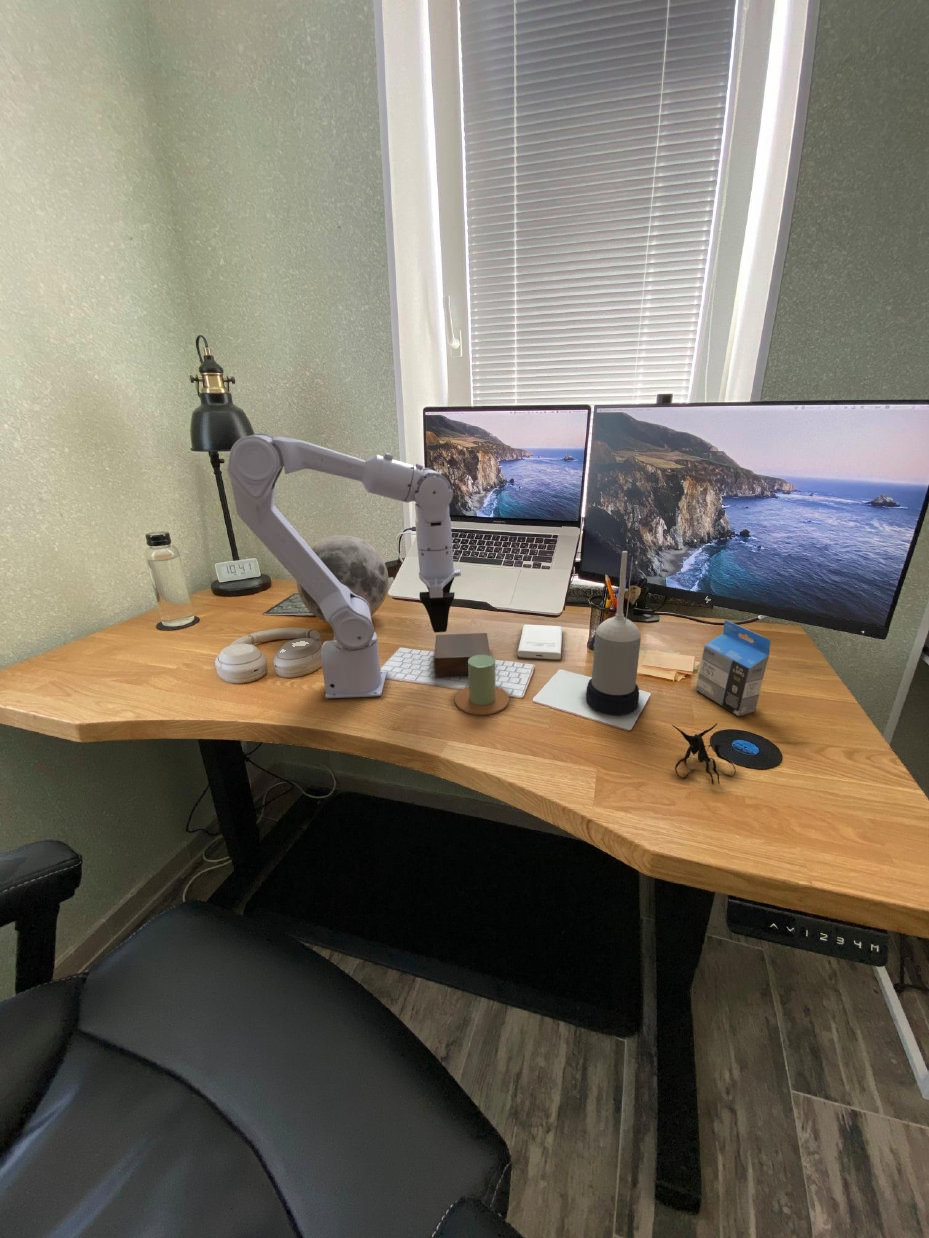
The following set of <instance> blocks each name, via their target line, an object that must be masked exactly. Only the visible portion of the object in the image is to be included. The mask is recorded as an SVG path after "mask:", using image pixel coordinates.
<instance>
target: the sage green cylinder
mask: <svg viewBox="0 0 929 1238" xmlns="http://www.w3.org/2000/svg"><path fill="white" fill-rule="evenodd" d="M467 681H468V687H469V700H470V701H471V702H472V703H474V704H476V705H488V704H491V703H492V702H494V701H495V698H496V694H495V686H496V659H495V658H494V657H493V656H491V655H490V656H488V655H476V656H473V657H471V658H469V660H468V680H467Z"/></svg>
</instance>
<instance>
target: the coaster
mask: <svg viewBox="0 0 929 1238" xmlns="http://www.w3.org/2000/svg"><path fill="white" fill-rule="evenodd" d="M495 694H496V698H495V701H494V702H492V703H491V704H488V705H476V704H474V703H472V702H471V701H470V700H469V686H467V687H464V688H462V689H461V690H459V691H458V692H457V693H456V695H455V696H454V704H455V706H456V707H457V708H458V709H459V710H460V711H462V712H464V713H466V714H469V715H474V716H475V715H476V716H488V715H489V716H490V715H494V714H496V713H499V712H502V711H503V710H505V709H506V708H507V707H508V705H509V703H510V696H509V694H508V693H507V692H506V691H505V689H503V688H500V687H498V686H496V685H495Z"/></svg>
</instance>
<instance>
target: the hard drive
mask: <svg viewBox="0 0 929 1238" xmlns="http://www.w3.org/2000/svg"><path fill="white" fill-rule="evenodd" d="M562 640H563V626H560V625H542V624H541V625H540V624H524V625H523V627H522V631H521V635H520V640H519V644H518V649H517V657H519V658H523V659H525V658H526V659H539V660H540V659H541V660H560V659H561V657H562Z"/></svg>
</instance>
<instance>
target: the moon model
mask: <svg viewBox="0 0 929 1238" xmlns="http://www.w3.org/2000/svg"><path fill="white" fill-rule="evenodd" d="M309 547H310V548H311V549H312V550H313V551H314V552H315V554H316V555H317V556H318V557H319V558H320V560H321V561H322V562H323V563H324V564H325V565H326V567H327V568H328V569H329V570H330V571H331V572H332V574H333V575H334V576H335V577H336V578H337V579H338V581H339V582H340V583H342V584H343V585H345V586H347V587H348V588H349V589H350V591H351V592H352V593H354V594H355V595H357V596H360V597H362V598H364V599H365V600H366V601H367V602H368V604H369V605H370V608H371V617H372V616H373V615H374V614H376V612H377V611H378V610H379V609H380V607H381V606H382V605H383V603H384V601H385V599H386V597H387V594H388V590H389V573H388V569H387V565H386V563H385V561H384V558H383V557H382V555H381V554H380V553H379V552H378V550H377V549H376V548H375V547H374V546H372V545H371V544H370V543H368V542H367V541H365V540H363V539H362V538H359V537H356V536H352V535H345V534H337V535H331V536H327V537H325V538H322V539H319V540H318V541H317V542H315V543H314V544H313V545H311V546H309ZM295 581H296V589H297V593H298V596H299V598H300V601H302V603H303V605H304V606H305V608H306V609H307V610H308V611H309V612H310V613H311V614H312V615H314V616H315V617H316V618H318V619H319V620H322V621H323V622H326V623H328V622H327V621H326V619H325V617H324V615H323V613H322V611H321V609H320V607H319V605H318V604H317V603H316V602H315V600H314V599H313V598H312V597H311V596H310V595H309V594H308V593H307V592H306V590H305V589H304V588H303V587H302V586H301V585H300V584H299V583H298V582H297V580H296V579H295Z"/></svg>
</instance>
